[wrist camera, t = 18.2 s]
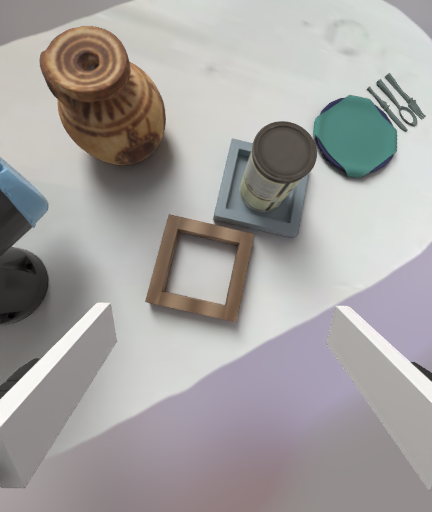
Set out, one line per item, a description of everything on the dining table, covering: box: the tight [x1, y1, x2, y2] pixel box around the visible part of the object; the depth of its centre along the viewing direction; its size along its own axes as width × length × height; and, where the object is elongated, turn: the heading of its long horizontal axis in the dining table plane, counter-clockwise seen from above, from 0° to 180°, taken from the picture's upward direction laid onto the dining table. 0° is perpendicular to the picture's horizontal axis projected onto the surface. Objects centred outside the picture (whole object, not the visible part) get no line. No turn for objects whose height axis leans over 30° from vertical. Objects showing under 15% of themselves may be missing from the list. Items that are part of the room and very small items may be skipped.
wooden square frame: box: [145, 214, 254, 322], centre depth 43 cm, size 18×18×3 cm
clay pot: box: [40, 26, 166, 165], centre depth 39 cm, size 19×19×20 cm
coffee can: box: [240, 121, 317, 212], centre depth 40 cm, size 10×10×14 cm
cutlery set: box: [313, 73, 426, 178], centre depth 51 cm, size 20×30×2 cm, turn 127°
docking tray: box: [213, 139, 308, 238], centre depth 46 cm, size 18×18×3 cm
